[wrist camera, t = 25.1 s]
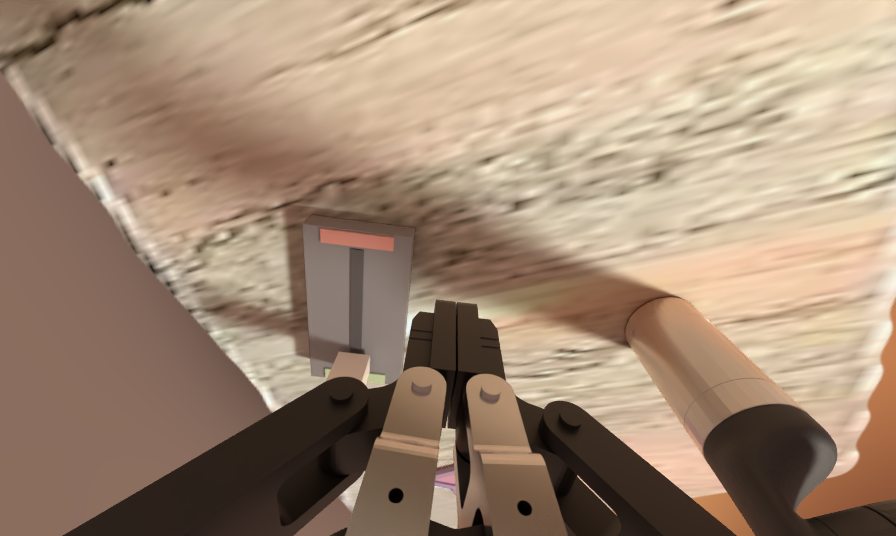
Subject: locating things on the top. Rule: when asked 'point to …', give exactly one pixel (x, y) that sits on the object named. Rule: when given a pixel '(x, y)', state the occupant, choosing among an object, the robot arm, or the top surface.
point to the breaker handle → (351, 366)
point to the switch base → (357, 293)
